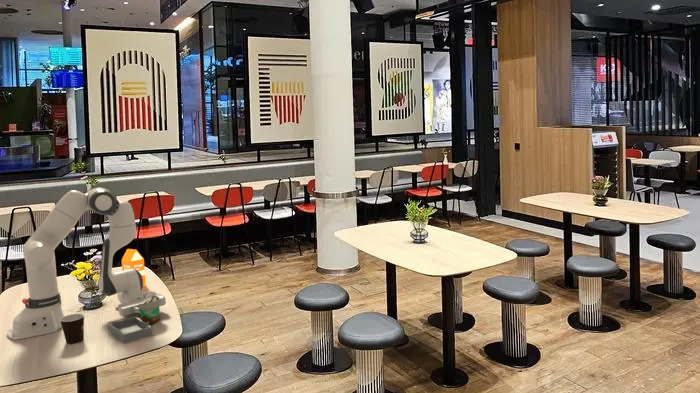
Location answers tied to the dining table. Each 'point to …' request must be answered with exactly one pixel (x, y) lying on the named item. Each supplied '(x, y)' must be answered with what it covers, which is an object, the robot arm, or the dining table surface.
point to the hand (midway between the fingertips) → (148, 309)
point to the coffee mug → (73, 328)
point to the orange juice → (134, 262)
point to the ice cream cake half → (150, 310)
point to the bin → (130, 329)
